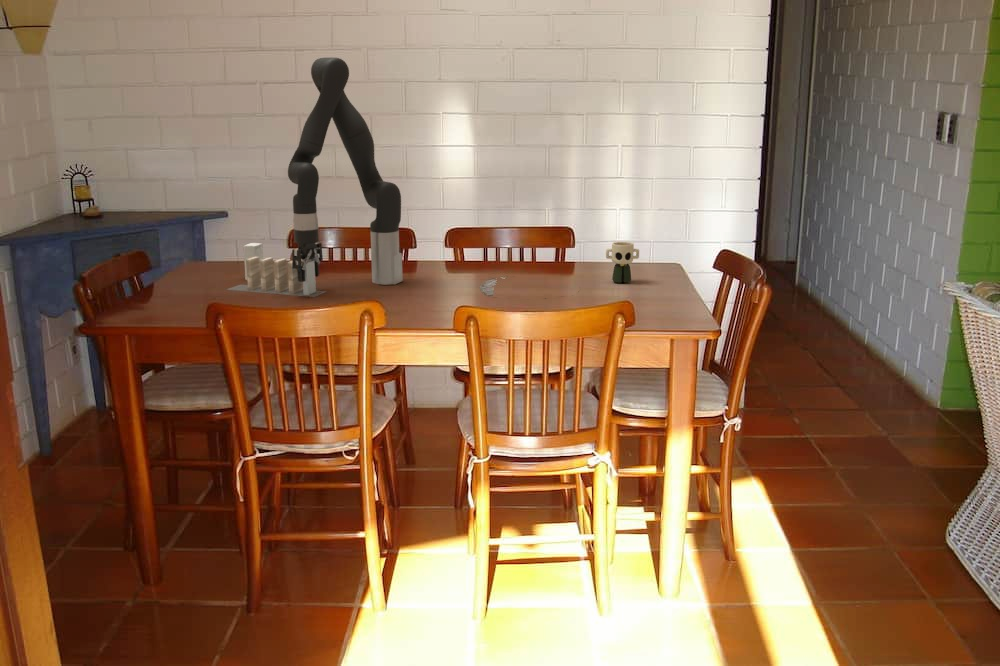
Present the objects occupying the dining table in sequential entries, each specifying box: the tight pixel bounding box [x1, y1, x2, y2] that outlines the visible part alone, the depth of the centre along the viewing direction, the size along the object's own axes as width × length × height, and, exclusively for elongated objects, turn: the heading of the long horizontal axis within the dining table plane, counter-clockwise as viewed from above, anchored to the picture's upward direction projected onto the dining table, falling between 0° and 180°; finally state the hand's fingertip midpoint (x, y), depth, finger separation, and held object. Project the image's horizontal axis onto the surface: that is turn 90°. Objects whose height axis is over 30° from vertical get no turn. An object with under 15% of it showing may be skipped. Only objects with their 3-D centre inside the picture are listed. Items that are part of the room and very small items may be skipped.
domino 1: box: [246, 257, 261, 291], centre depth 305 cm, size 2×5×10 cm, turn 161°
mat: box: [226, 283, 328, 298], centre depth 304 cm, size 32×8×1 cm, turn 71°
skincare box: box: [242, 242, 264, 281], centre depth 321 cm, size 6×4×12 cm
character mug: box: [605, 241, 640, 283], centre depth 315 cm, size 11×7×13 cm, turn 89°
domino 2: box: [260, 256, 275, 292], centre depth 304 cm, size 2×5×10 cm, turn 161°
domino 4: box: [287, 260, 303, 294], centre depth 301 cm, size 2×5×10 cm, turn 161°
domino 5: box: [302, 260, 317, 295], centre depth 299 cm, size 2×5×10 cm, turn 161°
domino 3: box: [273, 257, 289, 293], centre depth 302 cm, size 2×5×10 cm, turn 161°
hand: (308, 278), depth 299 cm, fingers open, 8 cm apart
